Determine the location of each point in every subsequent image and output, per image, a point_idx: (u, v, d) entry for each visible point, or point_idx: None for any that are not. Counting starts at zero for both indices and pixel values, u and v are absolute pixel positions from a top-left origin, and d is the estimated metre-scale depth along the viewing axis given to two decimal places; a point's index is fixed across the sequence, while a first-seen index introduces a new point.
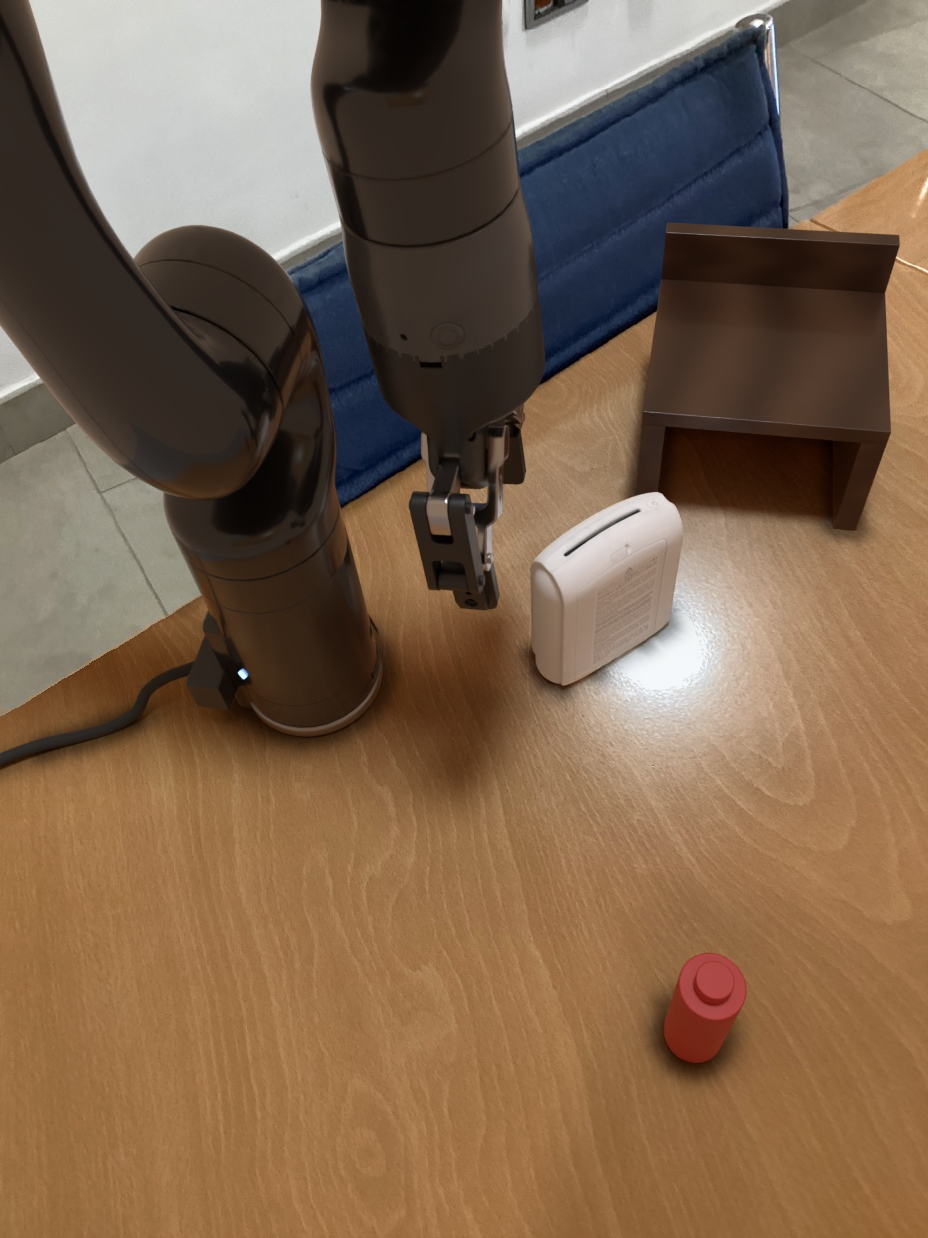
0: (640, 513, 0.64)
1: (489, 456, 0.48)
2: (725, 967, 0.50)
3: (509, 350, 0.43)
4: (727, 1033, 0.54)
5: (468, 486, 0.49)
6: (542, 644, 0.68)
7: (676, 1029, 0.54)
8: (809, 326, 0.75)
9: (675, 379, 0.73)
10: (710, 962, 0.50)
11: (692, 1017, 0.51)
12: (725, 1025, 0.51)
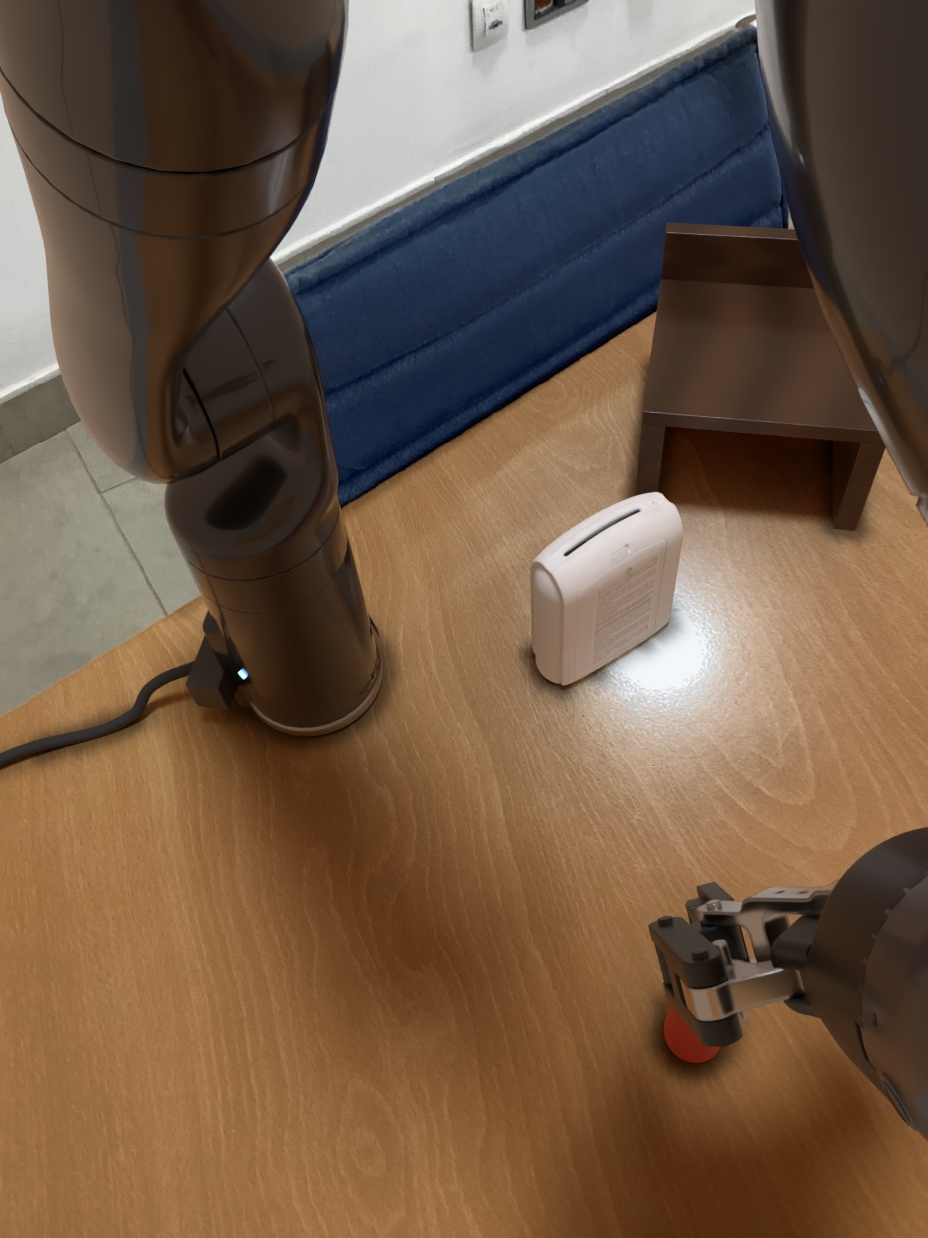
0: (640, 513, 0.64)
1: None
2: None
3: None
4: None
5: None
6: (542, 644, 0.68)
7: (676, 1029, 0.54)
8: (809, 326, 0.75)
9: (675, 379, 0.73)
10: None
11: None
12: None
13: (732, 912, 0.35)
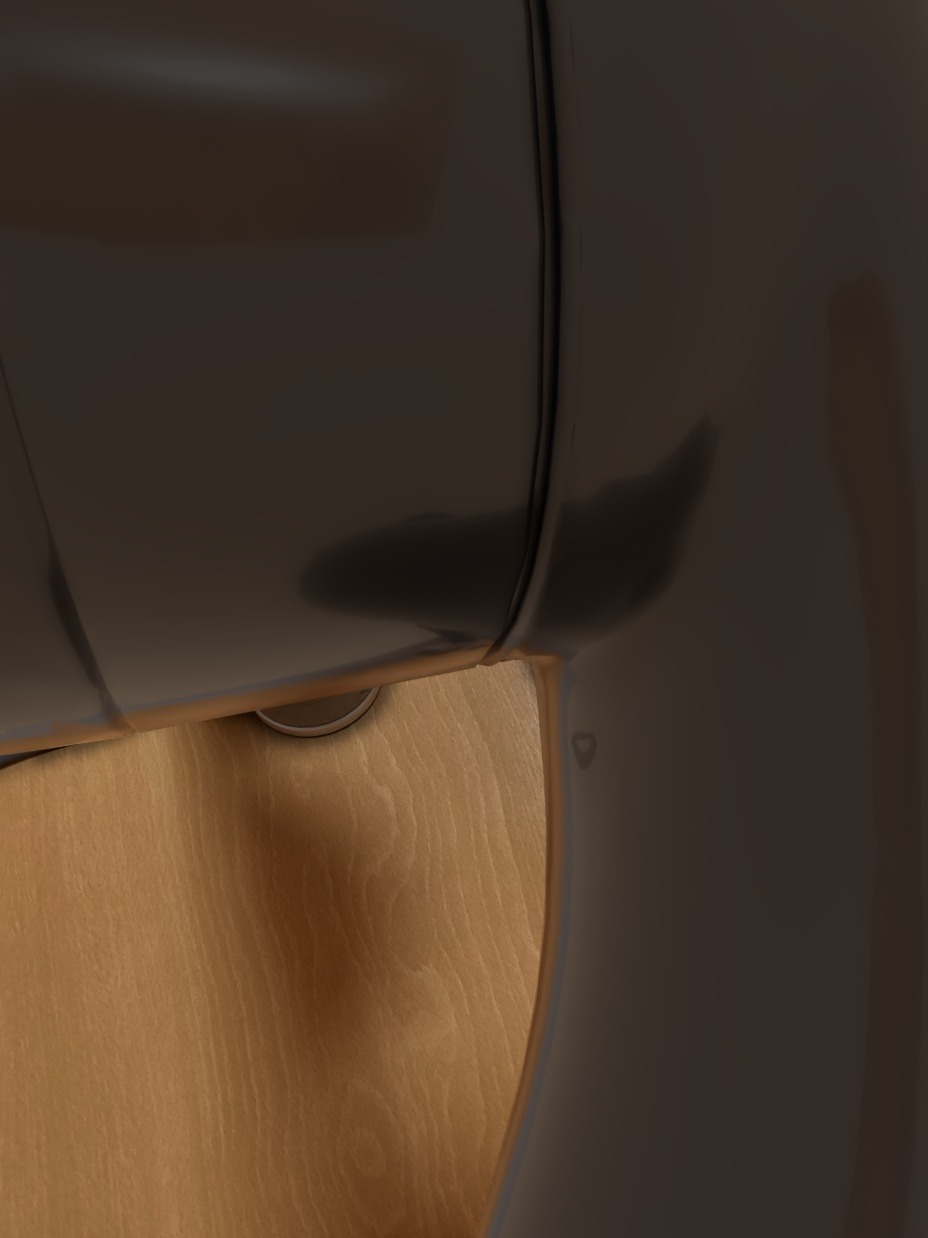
0: None
1: None
2: None
3: None
4: None
5: None
6: None
7: None
8: None
9: None
10: None
11: None
12: None
13: None
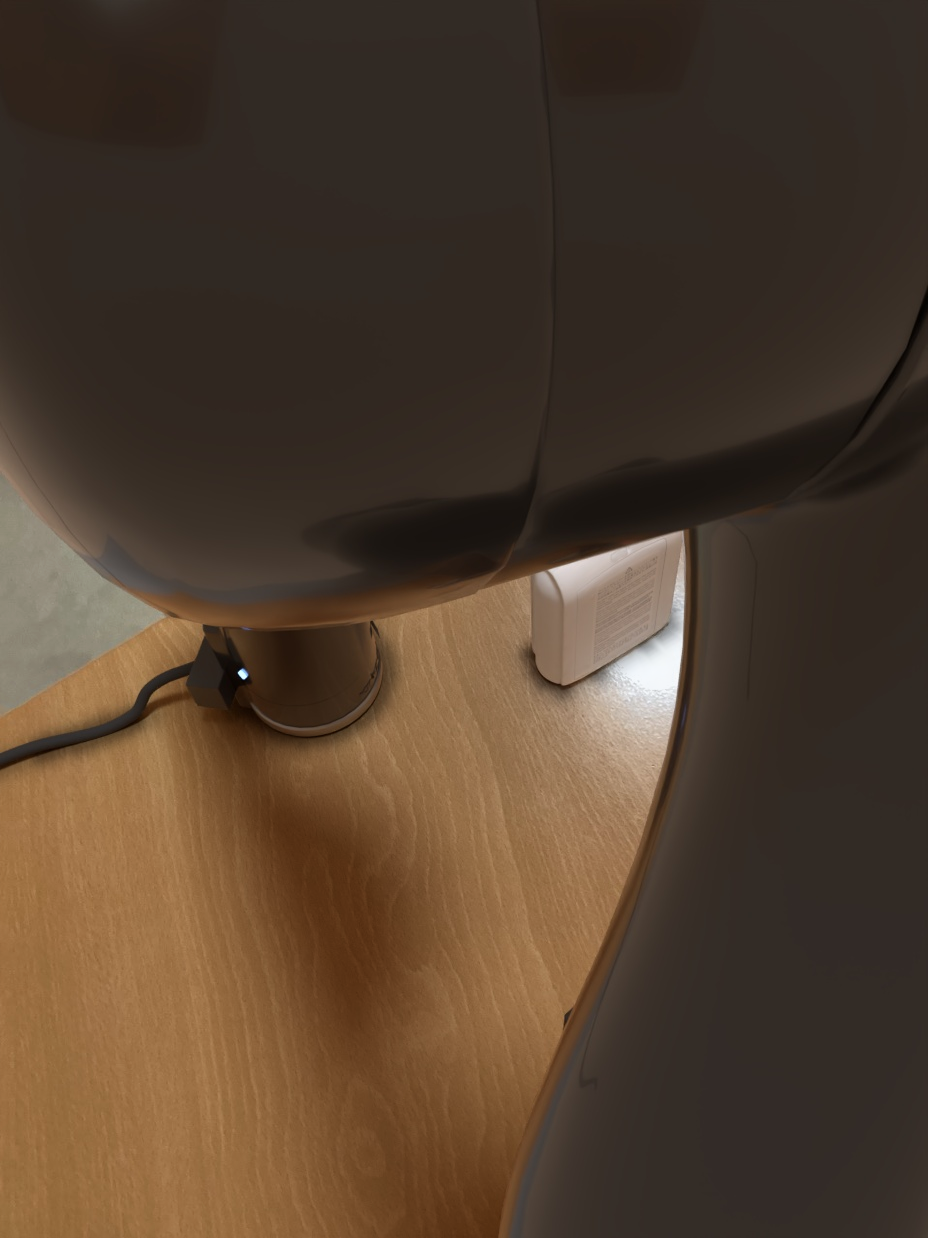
0: None
1: None
2: None
3: None
4: None
5: None
6: (542, 644, 0.68)
7: None
8: None
9: None
10: None
11: None
12: None
13: None
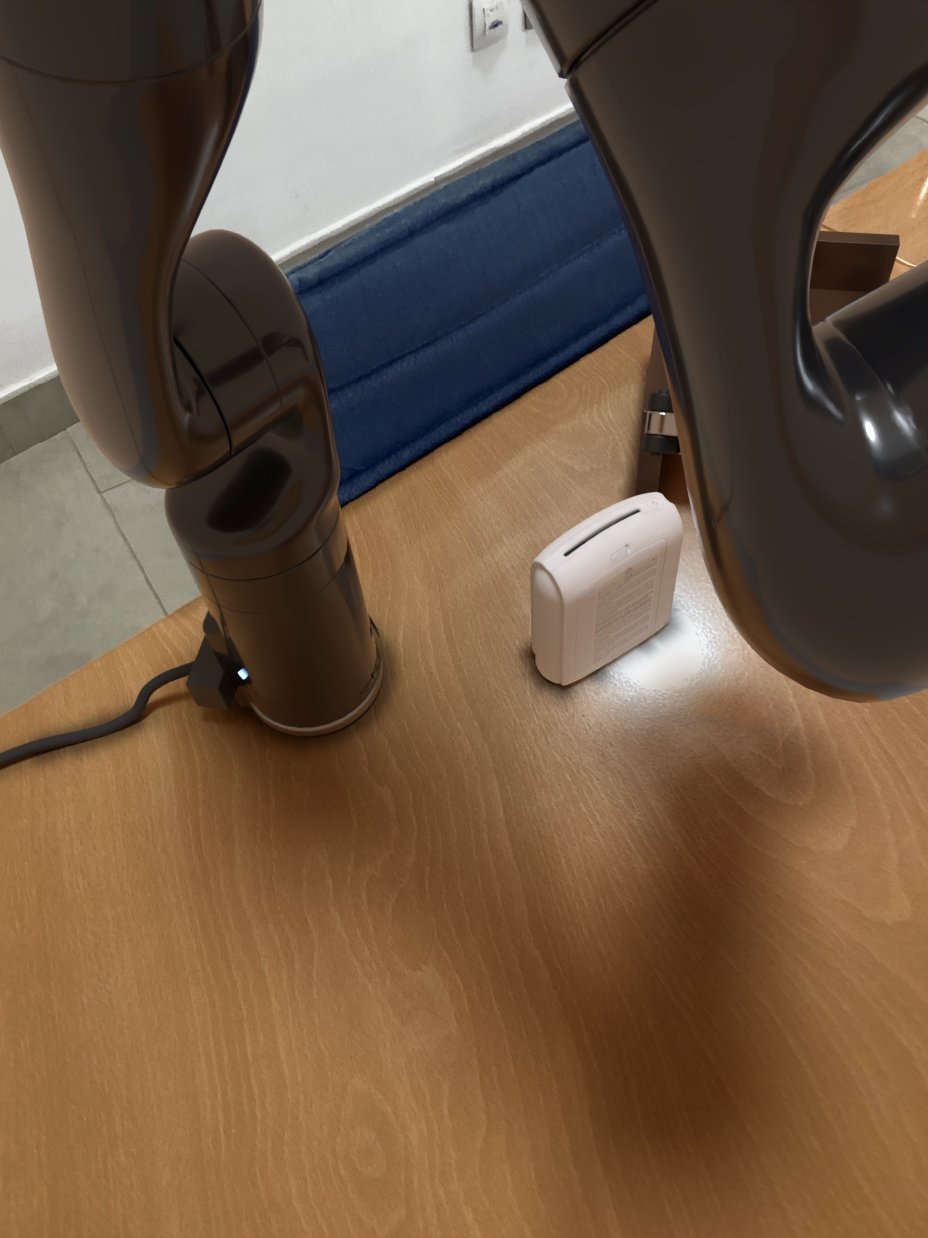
0: (640, 513, 0.64)
1: None
2: None
3: None
4: None
5: None
6: (542, 644, 0.68)
7: None
8: None
9: None
10: None
11: None
12: None
13: None
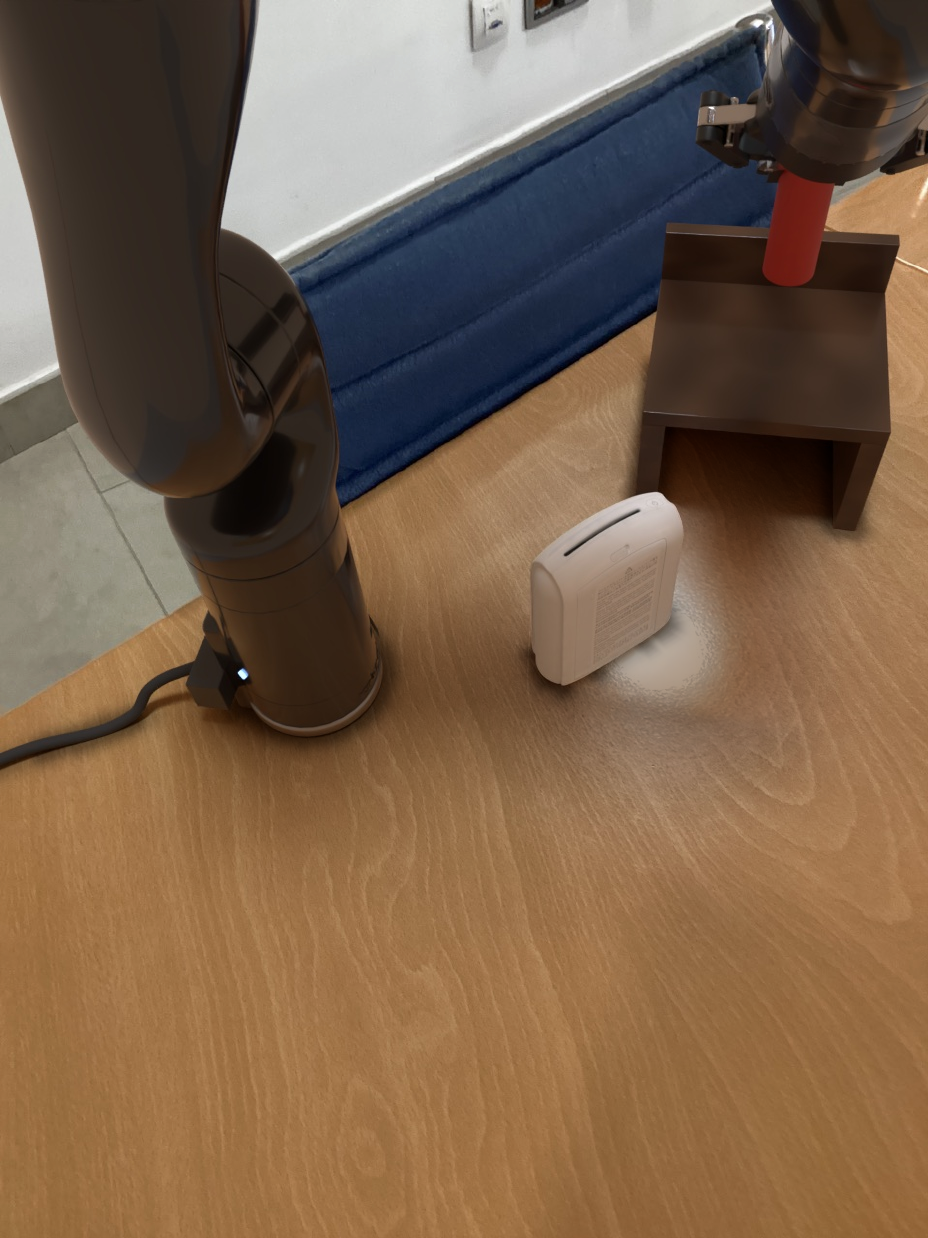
0: (640, 513, 0.64)
1: None
2: None
3: (786, 147, 0.49)
4: (823, 219, 0.63)
5: None
6: (542, 644, 0.68)
7: (779, 222, 0.64)
8: (809, 326, 0.75)
9: (675, 379, 0.73)
10: None
11: None
12: None
13: None
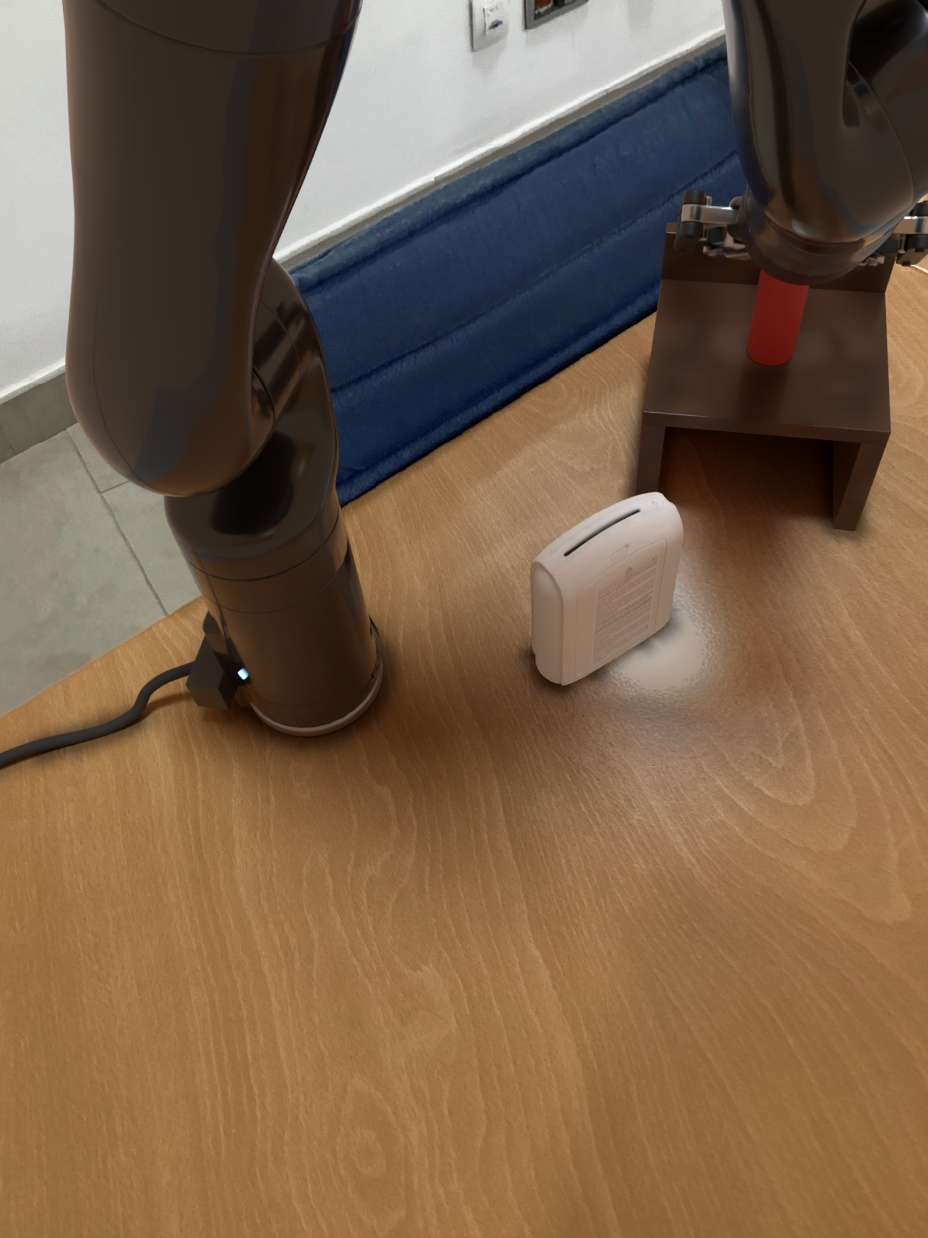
0: (640, 513, 0.64)
1: None
2: None
3: (764, 258, 0.55)
4: (801, 309, 0.70)
5: None
6: (542, 644, 0.68)
7: (761, 310, 0.70)
8: (809, 326, 0.75)
9: (675, 379, 0.73)
10: None
11: None
12: None
13: None
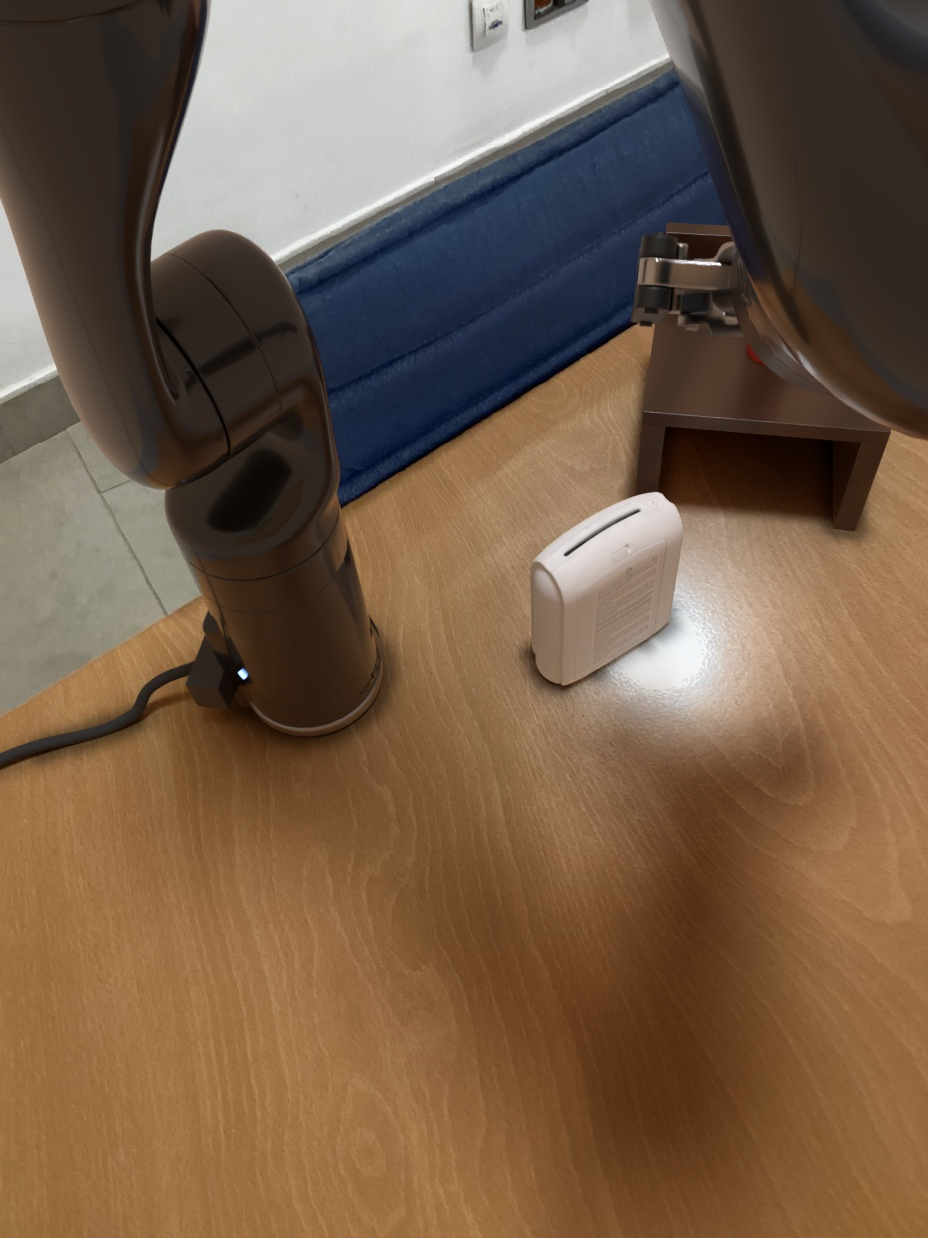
0: (640, 513, 0.64)
1: None
2: None
3: (774, 358, 0.32)
4: None
5: None
6: (542, 644, 0.68)
7: None
8: None
9: (675, 379, 0.73)
10: None
11: None
12: None
13: (710, 258, 0.40)
